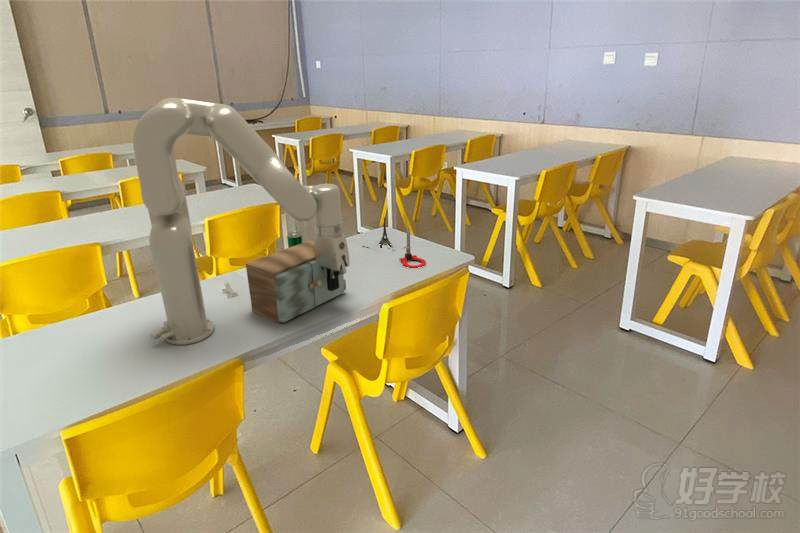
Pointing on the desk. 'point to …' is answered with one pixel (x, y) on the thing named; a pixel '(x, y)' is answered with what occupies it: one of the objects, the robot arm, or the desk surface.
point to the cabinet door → (324, 285)
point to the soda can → (294, 238)
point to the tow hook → (408, 255)
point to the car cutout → (229, 289)
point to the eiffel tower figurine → (384, 240)
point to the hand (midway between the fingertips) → (333, 288)
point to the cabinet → (282, 283)
